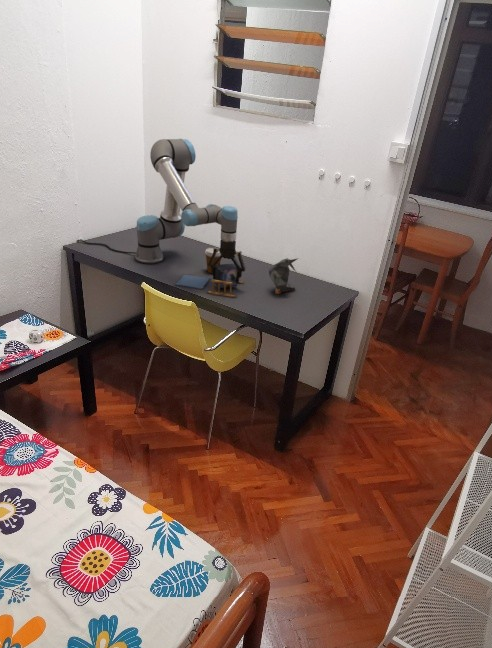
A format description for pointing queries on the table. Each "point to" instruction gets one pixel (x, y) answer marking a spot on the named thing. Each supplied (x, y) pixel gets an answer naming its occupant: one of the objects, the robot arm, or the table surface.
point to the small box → (226, 274)
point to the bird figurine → (281, 275)
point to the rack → (224, 288)
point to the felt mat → (192, 281)
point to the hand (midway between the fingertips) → (226, 281)
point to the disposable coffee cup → (208, 256)
